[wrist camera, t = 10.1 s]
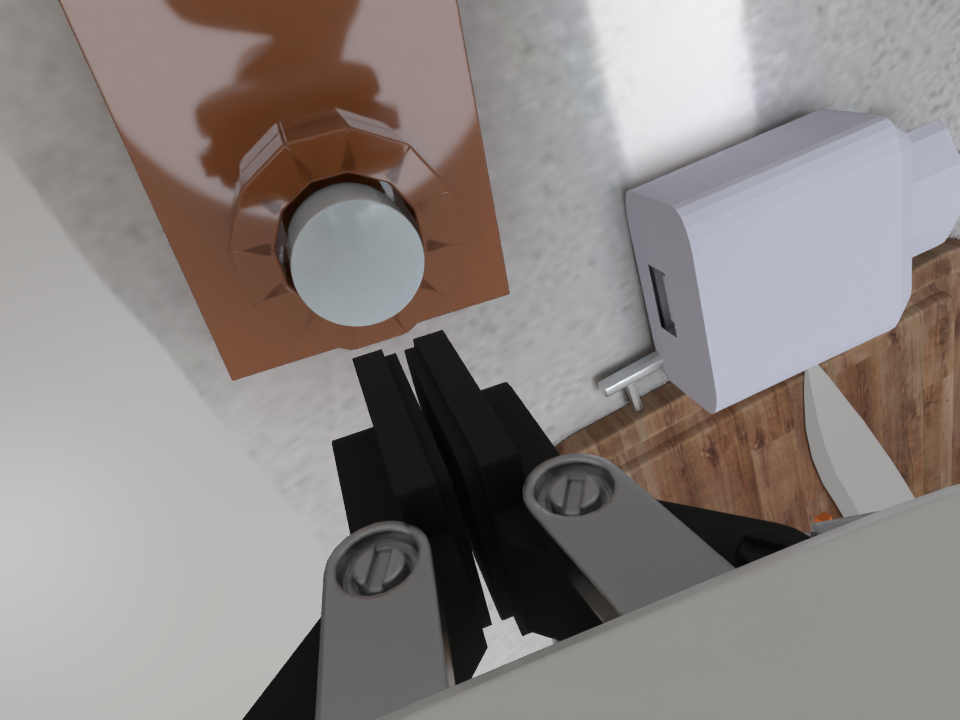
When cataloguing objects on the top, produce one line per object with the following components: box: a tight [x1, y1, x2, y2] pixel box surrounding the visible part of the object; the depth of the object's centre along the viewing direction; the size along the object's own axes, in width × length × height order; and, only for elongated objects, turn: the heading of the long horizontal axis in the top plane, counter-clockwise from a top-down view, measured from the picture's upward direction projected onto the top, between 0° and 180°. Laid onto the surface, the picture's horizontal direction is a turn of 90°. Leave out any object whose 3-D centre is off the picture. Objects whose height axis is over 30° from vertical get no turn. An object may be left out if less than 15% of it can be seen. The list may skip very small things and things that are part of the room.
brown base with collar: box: [58, 0, 510, 380], centre depth 20 cm, size 12×10×5 cm
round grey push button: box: [287, 182, 425, 326], centre depth 19 cm, size 4×4×2 cm
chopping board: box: [555, 238, 960, 533], centre depth 42 cm, size 45×27×3 cm, turn 22°
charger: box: [626, 109, 960, 414], centre depth 27 cm, size 5×9×15 cm
